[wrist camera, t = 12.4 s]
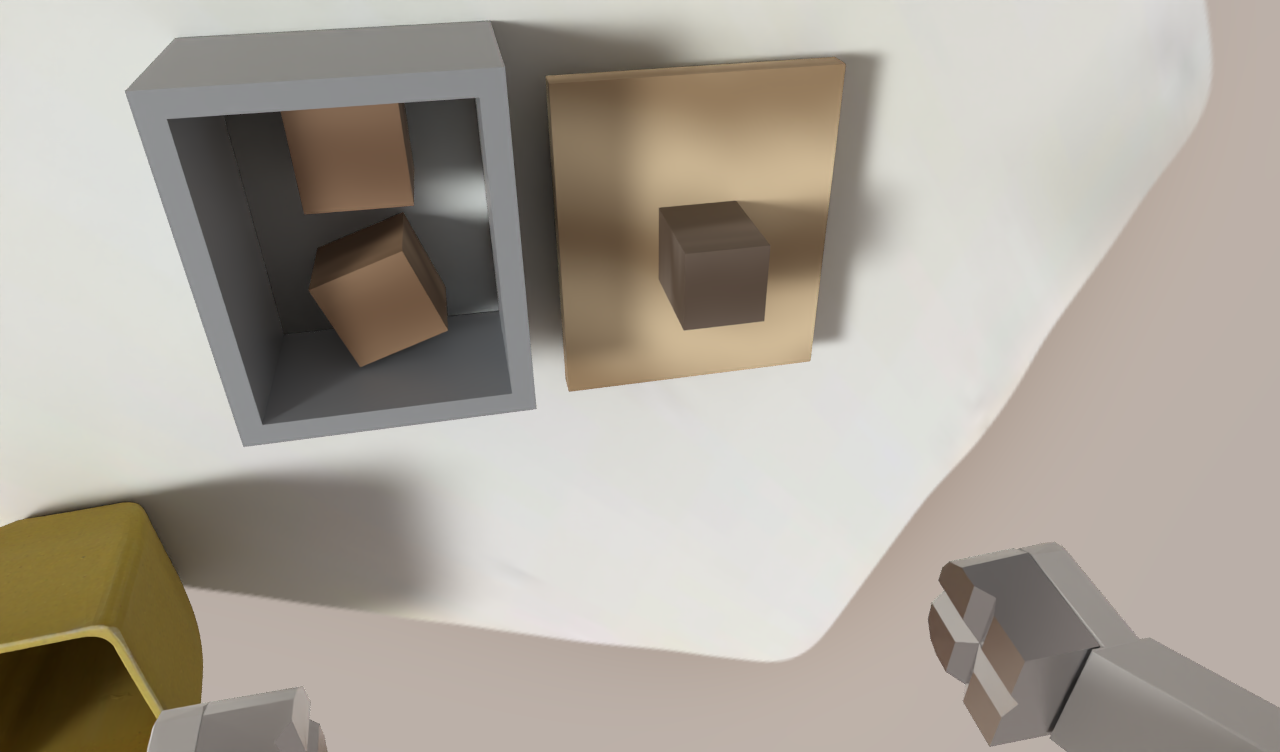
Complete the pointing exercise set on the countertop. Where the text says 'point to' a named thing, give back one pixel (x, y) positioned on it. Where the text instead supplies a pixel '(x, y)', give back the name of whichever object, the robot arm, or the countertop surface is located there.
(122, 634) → the flower pot
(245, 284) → the box
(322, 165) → the block
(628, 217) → the lid
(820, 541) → the countertop surface
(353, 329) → the block
